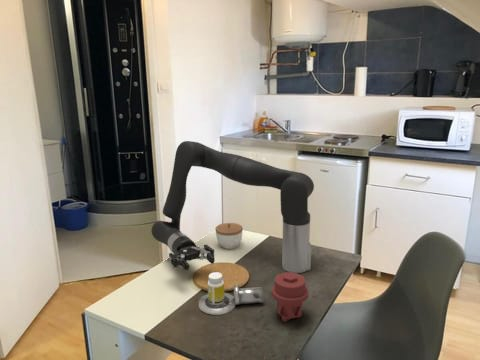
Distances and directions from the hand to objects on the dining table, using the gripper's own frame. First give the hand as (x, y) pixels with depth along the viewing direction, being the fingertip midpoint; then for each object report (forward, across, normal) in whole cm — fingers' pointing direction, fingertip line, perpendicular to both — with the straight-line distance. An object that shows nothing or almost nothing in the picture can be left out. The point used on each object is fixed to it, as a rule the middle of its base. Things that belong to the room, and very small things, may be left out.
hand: (200, 264), depth 122 cm
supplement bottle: (+11, 0, +8) cm, 13 cm away
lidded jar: (-24, +23, +9) cm, 34 cm away
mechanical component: (+27, +15, +8) cm, 32 cm away
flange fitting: (+13, +4, +8) cm, 15 cm away
